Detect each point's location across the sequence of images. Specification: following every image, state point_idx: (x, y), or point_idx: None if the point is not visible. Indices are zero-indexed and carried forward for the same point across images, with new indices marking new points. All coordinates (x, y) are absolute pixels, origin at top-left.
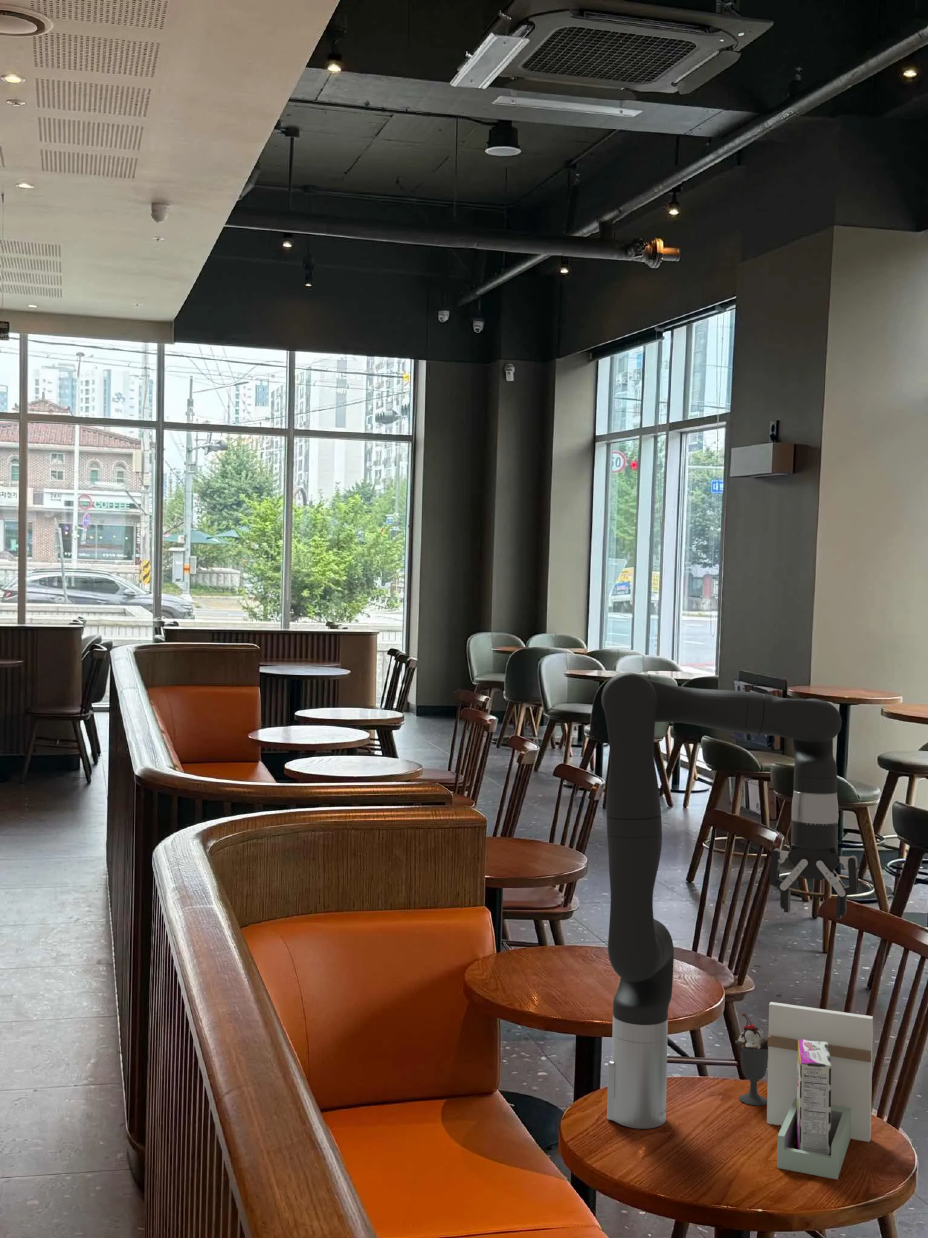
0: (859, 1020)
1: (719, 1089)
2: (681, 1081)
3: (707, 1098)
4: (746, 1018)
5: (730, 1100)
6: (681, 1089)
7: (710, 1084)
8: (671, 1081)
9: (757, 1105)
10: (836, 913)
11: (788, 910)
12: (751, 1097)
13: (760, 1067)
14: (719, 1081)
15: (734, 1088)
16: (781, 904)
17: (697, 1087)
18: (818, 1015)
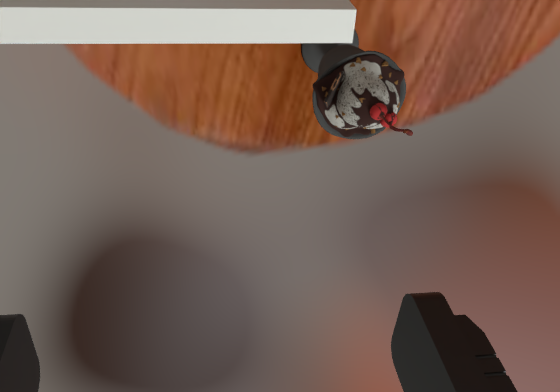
0: (9, 4)
1: None
2: (470, 80)
3: (420, 16)
4: (397, 130)
5: (374, 27)
6: (471, 40)
7: (415, 91)
8: (490, 72)
9: None
10: (4, 344)
11: (409, 313)
12: None
13: (331, 55)
14: (399, 113)
15: None
16: (478, 342)
17: (440, 65)
18: (170, 3)
